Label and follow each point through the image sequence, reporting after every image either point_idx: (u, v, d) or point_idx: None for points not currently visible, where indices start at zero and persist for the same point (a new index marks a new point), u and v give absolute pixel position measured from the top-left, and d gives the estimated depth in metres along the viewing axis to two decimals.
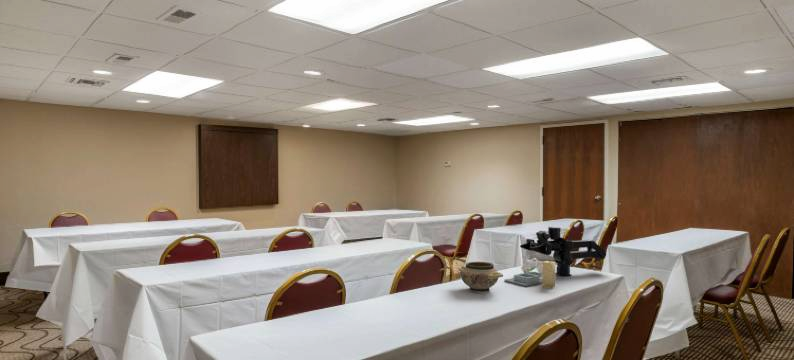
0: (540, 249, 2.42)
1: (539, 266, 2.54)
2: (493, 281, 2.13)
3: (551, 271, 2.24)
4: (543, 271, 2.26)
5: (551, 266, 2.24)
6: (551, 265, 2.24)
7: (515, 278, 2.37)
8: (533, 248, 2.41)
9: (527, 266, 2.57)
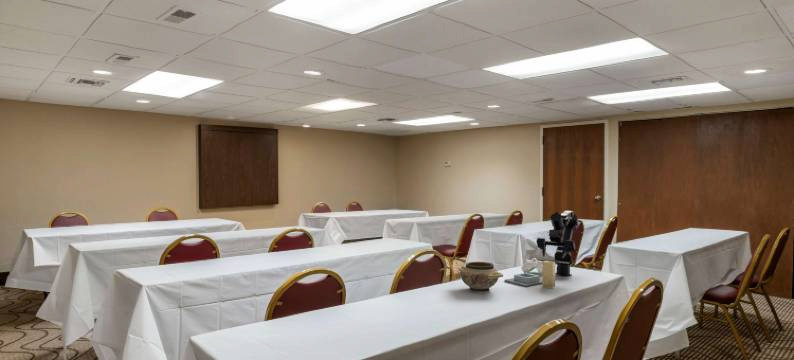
0: (566, 250, 2.34)
1: (539, 266, 2.54)
2: (493, 281, 2.13)
3: (551, 271, 2.24)
4: (543, 271, 2.26)
5: (551, 266, 2.24)
6: (551, 265, 2.24)
7: (515, 278, 2.37)
8: (563, 255, 2.31)
9: (527, 266, 2.57)
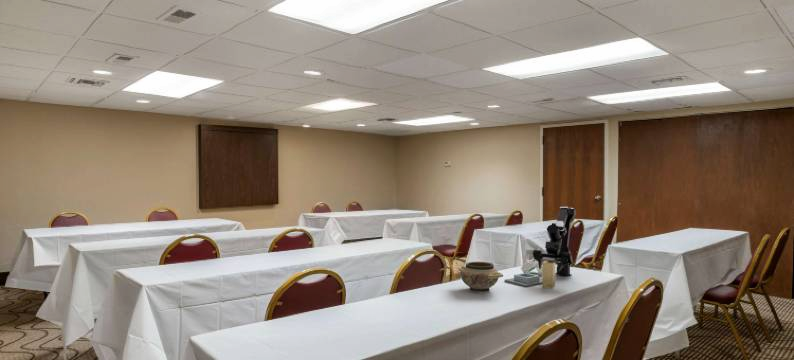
0: (563, 263, 2.28)
1: None
2: (493, 281, 2.13)
3: (551, 271, 2.24)
4: (543, 271, 2.26)
5: (551, 266, 2.24)
6: (551, 265, 2.24)
7: (515, 278, 2.37)
8: (560, 268, 2.25)
9: (527, 266, 2.57)
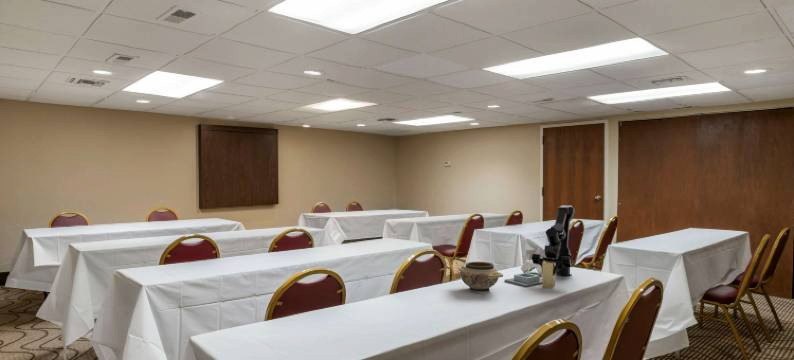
0: (558, 266, 2.27)
1: (539, 266, 2.54)
2: (493, 281, 2.13)
3: (551, 271, 2.24)
4: (543, 271, 2.26)
5: (551, 266, 2.24)
6: (551, 265, 2.24)
7: (515, 278, 2.37)
8: (555, 272, 2.25)
9: (527, 266, 2.57)
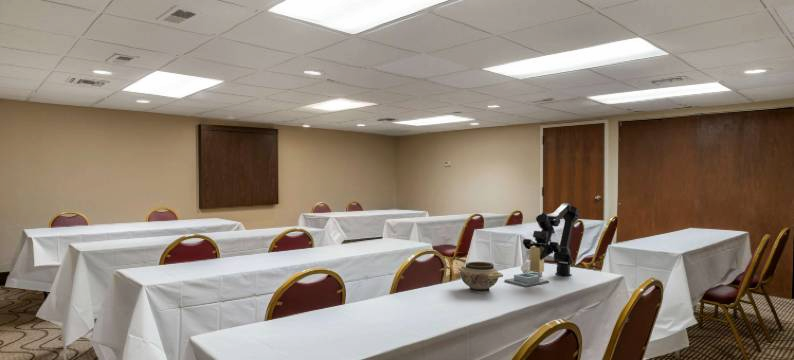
0: (546, 251, 2.31)
1: None
2: (493, 281, 2.13)
3: (538, 256, 2.28)
4: (531, 255, 2.31)
5: (538, 251, 2.28)
6: (538, 250, 2.28)
7: (515, 278, 2.37)
8: (542, 257, 2.29)
9: (526, 266, 2.57)
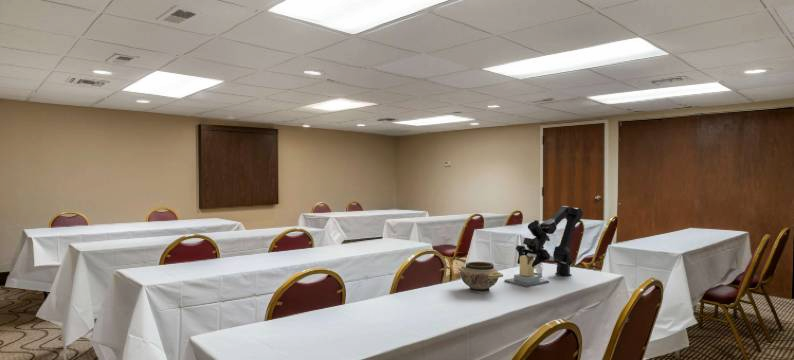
0: (539, 259, 2.34)
1: (538, 266, 2.53)
2: (493, 281, 2.13)
3: (526, 265, 2.34)
4: (520, 264, 2.37)
5: (526, 260, 2.34)
6: (526, 259, 2.34)
7: (515, 278, 2.37)
8: (534, 264, 2.32)
9: None
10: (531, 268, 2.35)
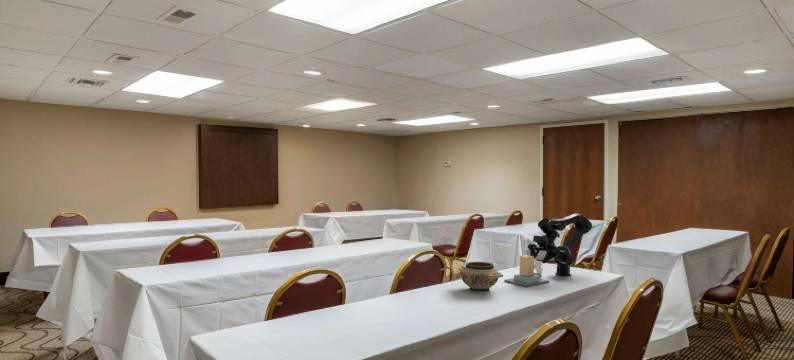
0: (549, 255, 2.38)
1: (538, 267, 2.53)
2: (493, 281, 2.13)
3: (526, 265, 2.34)
4: (520, 264, 2.37)
5: (526, 260, 2.34)
6: (526, 259, 2.34)
7: (515, 278, 2.37)
8: (545, 260, 2.37)
9: None
10: (531, 268, 2.35)
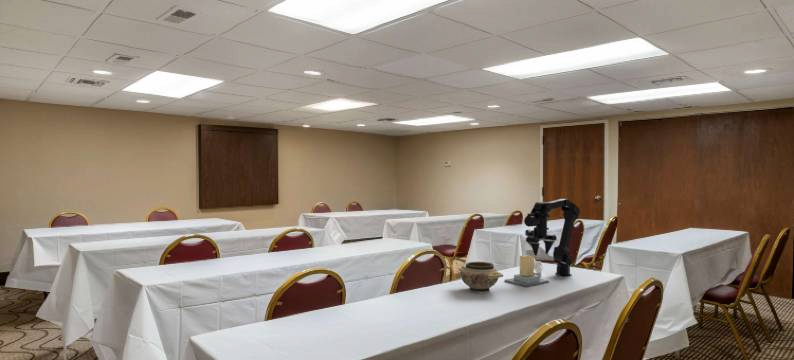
0: (535, 245, 2.41)
1: (537, 267, 2.52)
2: (493, 281, 2.13)
3: (526, 265, 2.34)
4: (520, 264, 2.37)
5: (526, 260, 2.34)
6: (526, 259, 2.34)
7: (515, 278, 2.37)
8: (534, 252, 2.42)
9: None
10: (531, 268, 2.35)
